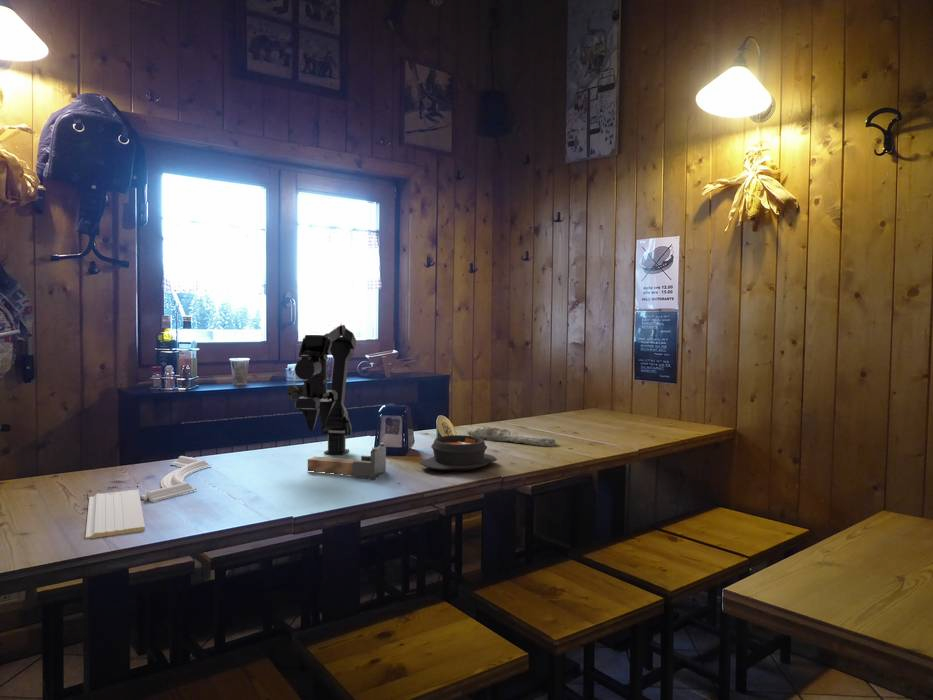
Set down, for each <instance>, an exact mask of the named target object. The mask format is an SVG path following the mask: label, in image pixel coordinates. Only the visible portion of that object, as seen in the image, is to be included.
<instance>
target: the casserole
mask: <svg viewBox="0 0 933 700" xmlns="http://www.w3.org/2000/svg"><path fill="white" fill-rule="evenodd" d="M430 447H431V449H432V451H433V456H431V457H430V458H426V459H423V460H420V461H419V464H420V465H421V466H423V467H425V468H429V469H433V470H439V471H440V470H441V471H444V470H446V471H452V472H468V471H473V470H476V469H479V468H483V467H485V466H486V465H487V466H488V465H489V464H490V463H493V462H496V461H497V460H498V458H497V457H496V456H493V455H490V454H487V453H486V450H487V449H488V446H487V445H486V442H485V439H481V438H478V437H474V436H469V435H463V434H459V435H458V434H456V435H454V434H453V435H444V436H439V437H435V438H434V442H433V444H431V446H430Z"/></svg>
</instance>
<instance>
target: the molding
mask: <svg viewBox="0 0 933 700" xmlns="http://www.w3.org/2000/svg"><path fill="white" fill-rule="evenodd" d="M170 464H173V465H177V466H183V467H181V468H180V467H178V468H177V469H175V470H173V471H171V472H169V473H167V474H166V475H165V476H164V477H163V478H162V479H161V481H160V488H157V489H154V490H150V491H147V492H145V494H141V495H140V500H142V499H144V501H149V502H150V501H151V502H150V503H156V502H155V501H157V502H160V501H159V500H161V501H163V500H162V499H165V500H167V499H166V498H169V499H171V498H170V497H172V498H174V497H173V496H176V495H179V494H183V493H186V492H190V491H194V490H196V491H197V487H193V486H192V485H190V484H189V482H185V479H186V478H187V477H188V476H187V475H188V474H190V473H191V472H193V471H195V470H198V469H201V468H204V467H207V466H210V465H211V464H209V463H208V462H206V461H205V460H203V459H198V458H193V457H189V456H186V455H185V456H184V455H180V456H178V458H177V461H172V462H171V463H170ZM186 476H187V477H186ZM185 477H186V478H185ZM184 478H185V479H184ZM183 480H184V481H183ZM161 487H162V488H161ZM176 497H177V496H176Z"/></svg>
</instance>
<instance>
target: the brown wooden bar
mask: <svg viewBox="0 0 933 700" xmlns="http://www.w3.org/2000/svg"><path fill="white" fill-rule="evenodd" d="M353 461H362V460H361V459H360V460H359V459H349V458H348V459H347V458H346V459H345V458H338V457H337V458H336V457H325V456H311V457H310V458H308V459H307V472H308V471H314V472H325V473H334V474H343V475H342V476H344V475H351V476H350V477H353ZM366 462H371V461H366Z"/></svg>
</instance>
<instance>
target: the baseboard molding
mask: <svg viewBox="0 0 933 700" xmlns="http://www.w3.org/2000/svg"><path fill="white" fill-rule="evenodd" d="M129 488H131V486H129V487H127V489H128V490H121V491H113V492H104V493H96V494H95V495H94V496H89V494H86V495H85V494H84V495H83V497H85V496H86V499H87V500H88V506H87V507H88V509H87V518H86V528H85V530H86V531H85V540H89V539H94V538H101V537H109V536H116V535H124V534H131V533H132V534H133V533H137V532H145V530H146V525H145V519H144V513H143V508H142V502H141V499H140V496H141V495H140V490H139V489H138V488H139V485H137V486H136V488H137V489H130V490H129ZM111 489H118V490H119V489H121V487H120V488H119V485H118V486H117V485H114V486H109V487H107V491H108V490H111ZM99 491H101V490H99V489H98V490H97V492H99ZM88 492H89V493H91V492H92V489H90V490H89V491H88Z"/></svg>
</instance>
